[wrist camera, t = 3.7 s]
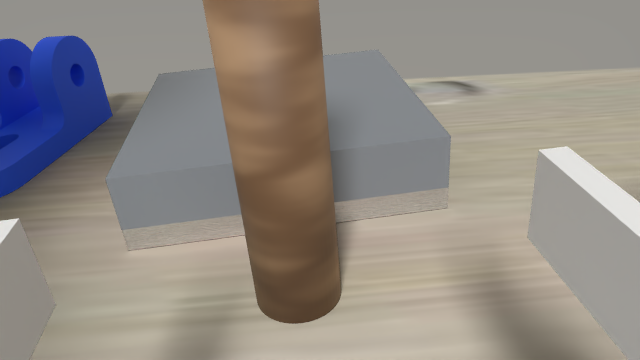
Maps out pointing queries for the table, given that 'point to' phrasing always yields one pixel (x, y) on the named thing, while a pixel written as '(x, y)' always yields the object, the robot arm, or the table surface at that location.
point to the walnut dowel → (279, 149)
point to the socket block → (216, 164)
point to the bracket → (45, 104)
